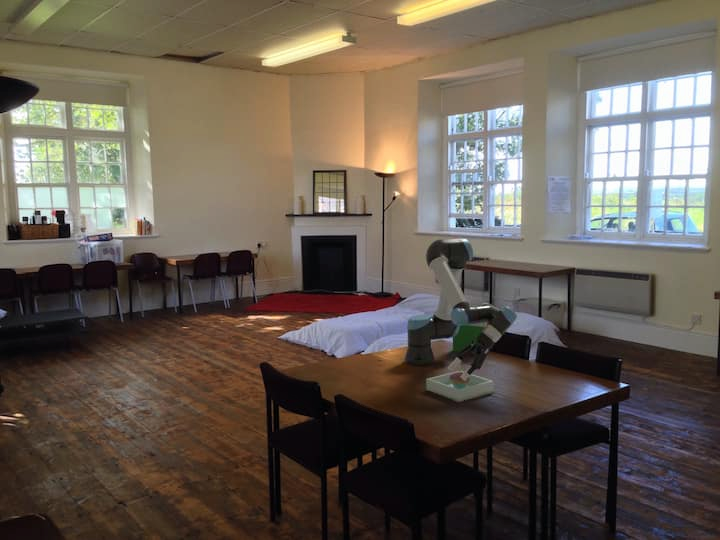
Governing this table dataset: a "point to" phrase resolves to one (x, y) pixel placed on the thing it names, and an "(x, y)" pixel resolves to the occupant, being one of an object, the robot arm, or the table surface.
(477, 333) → the hardback book
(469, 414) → the table surface
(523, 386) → the table surface
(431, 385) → the box
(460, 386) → the cupcake
